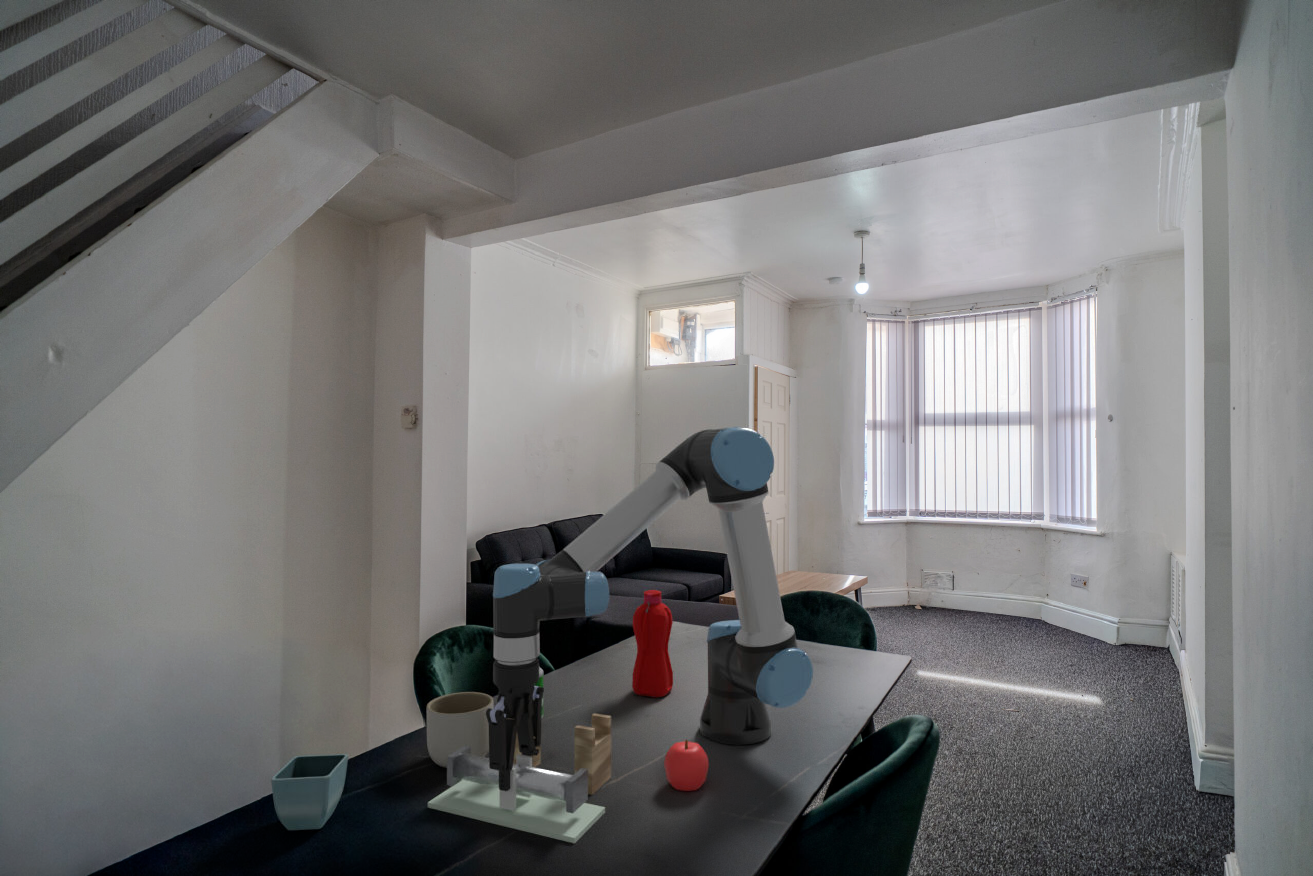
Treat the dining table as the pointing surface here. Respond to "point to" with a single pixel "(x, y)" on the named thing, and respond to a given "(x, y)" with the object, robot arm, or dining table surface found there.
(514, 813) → the board
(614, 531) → the robot arm
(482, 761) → the rail
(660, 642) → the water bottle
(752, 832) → the dining table surface
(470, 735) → the planter
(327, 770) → the flower pot
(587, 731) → the post near
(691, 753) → the apple
